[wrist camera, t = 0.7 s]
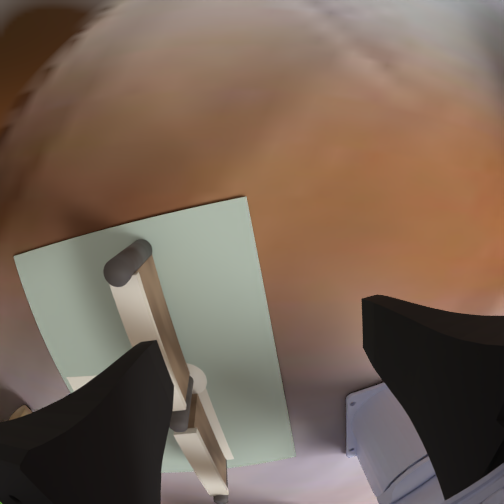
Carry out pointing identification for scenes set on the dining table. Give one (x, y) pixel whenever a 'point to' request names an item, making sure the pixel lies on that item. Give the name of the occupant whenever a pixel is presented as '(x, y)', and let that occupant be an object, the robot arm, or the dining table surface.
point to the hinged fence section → (147, 310)
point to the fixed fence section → (201, 446)
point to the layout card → (175, 320)
